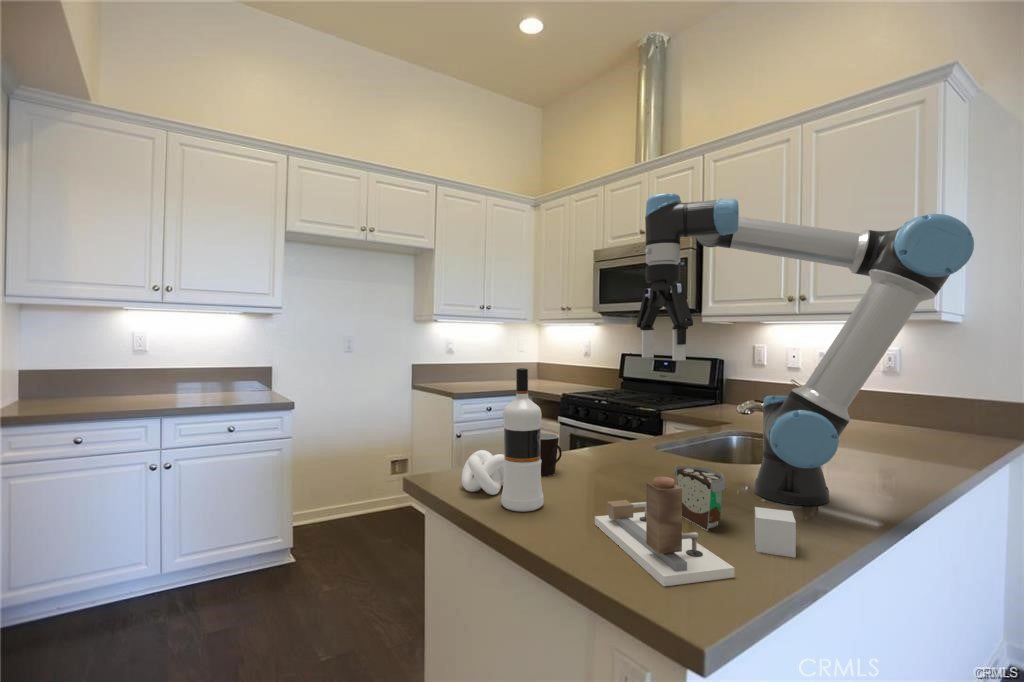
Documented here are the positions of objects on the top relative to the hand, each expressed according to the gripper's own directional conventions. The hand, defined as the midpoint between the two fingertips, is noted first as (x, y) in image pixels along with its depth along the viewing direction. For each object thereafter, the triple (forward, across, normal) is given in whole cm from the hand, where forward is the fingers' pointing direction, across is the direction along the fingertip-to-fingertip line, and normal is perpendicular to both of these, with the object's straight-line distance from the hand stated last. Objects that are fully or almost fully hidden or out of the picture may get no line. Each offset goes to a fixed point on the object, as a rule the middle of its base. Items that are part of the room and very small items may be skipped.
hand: (662, 359), depth 117 cm
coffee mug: (+32, -26, -20) cm, 46 cm away
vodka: (+32, -3, -32) cm, 45 cm away
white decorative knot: (+32, -16, -37) cm, 51 cm away
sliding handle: (+30, +31, -15) cm, 46 cm away
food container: (+32, +15, +1) cm, 35 cm away
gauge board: (+32, +24, -15) cm, 42 cm away
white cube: (+32, +29, +5) cm, 43 cm away
